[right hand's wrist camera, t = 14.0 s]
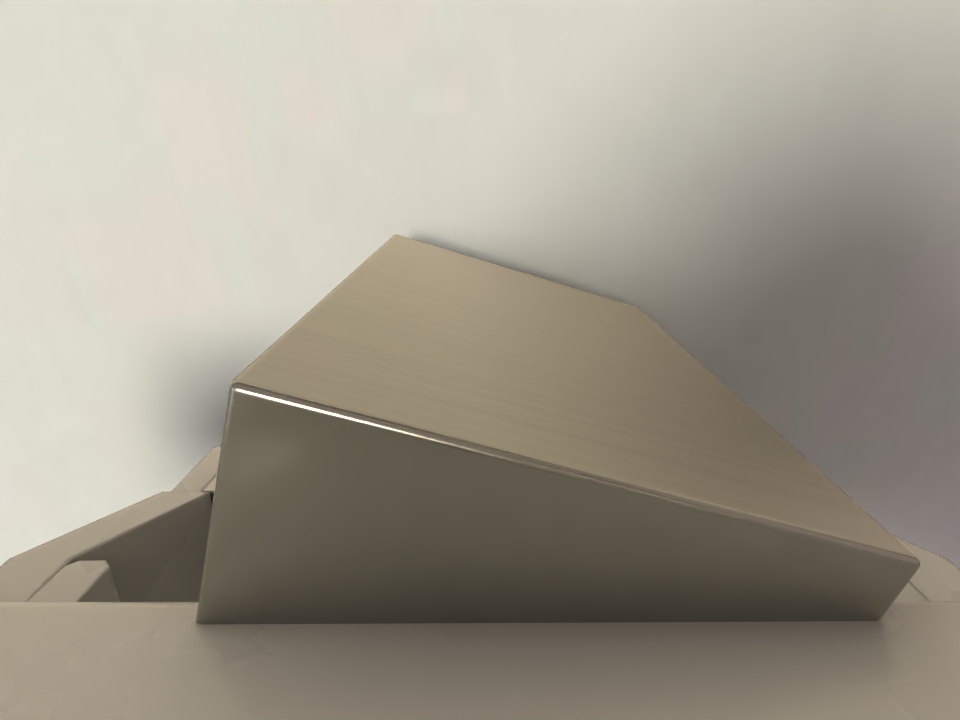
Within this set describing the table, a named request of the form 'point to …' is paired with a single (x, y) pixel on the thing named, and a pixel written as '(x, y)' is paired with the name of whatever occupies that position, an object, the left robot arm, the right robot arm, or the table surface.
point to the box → (515, 470)
